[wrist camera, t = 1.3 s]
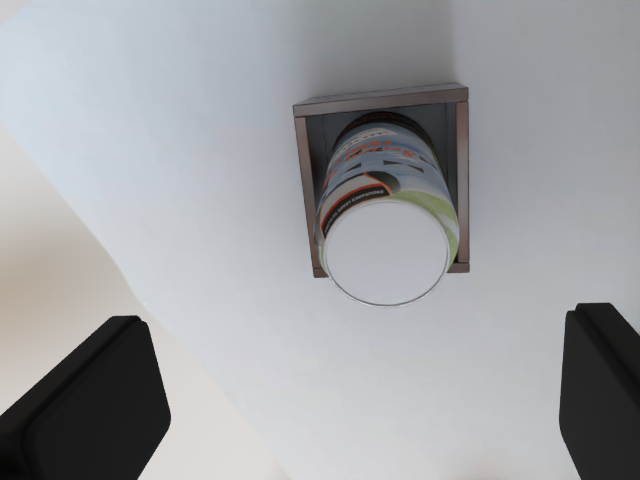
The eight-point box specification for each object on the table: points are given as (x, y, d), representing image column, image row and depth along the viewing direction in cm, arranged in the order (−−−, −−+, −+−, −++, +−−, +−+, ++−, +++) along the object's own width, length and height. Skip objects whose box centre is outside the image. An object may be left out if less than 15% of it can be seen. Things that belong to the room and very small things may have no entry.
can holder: (310, 97, 29) (292, 105, 24) (457, 82, 27) (468, 87, 22) (326, 246, 32) (313, 278, 27) (459, 240, 30) (469, 273, 25)
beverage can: (403, 88, 28) (405, 108, 16) (462, 197, 29) (499, 282, 18) (311, 144, 29) (257, 196, 18) (371, 243, 31) (354, 346, 20)
